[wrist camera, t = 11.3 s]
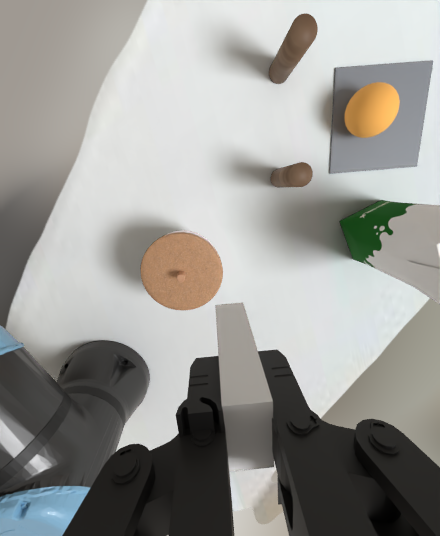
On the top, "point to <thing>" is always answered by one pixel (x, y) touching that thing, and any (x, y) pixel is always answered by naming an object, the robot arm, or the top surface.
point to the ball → (372, 110)
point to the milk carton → (398, 242)
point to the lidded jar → (181, 270)
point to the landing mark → (401, 129)
